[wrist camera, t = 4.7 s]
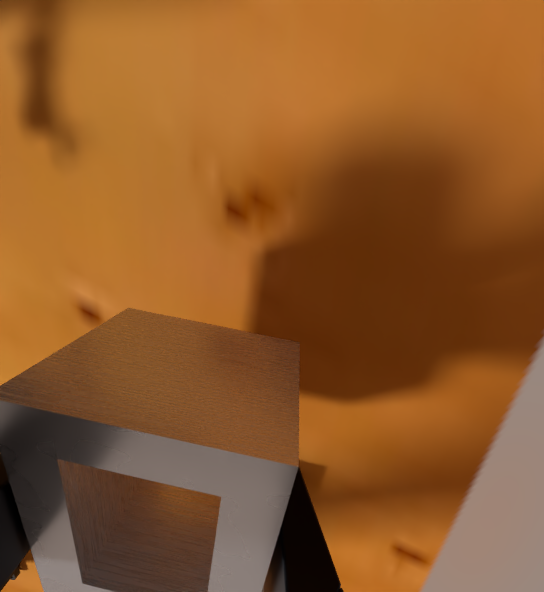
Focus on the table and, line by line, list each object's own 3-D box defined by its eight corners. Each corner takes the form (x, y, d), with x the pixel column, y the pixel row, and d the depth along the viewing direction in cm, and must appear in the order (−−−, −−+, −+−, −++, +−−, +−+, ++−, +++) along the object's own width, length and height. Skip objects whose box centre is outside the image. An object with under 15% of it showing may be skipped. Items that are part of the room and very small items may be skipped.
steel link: (134, 458, 11) (45, 595, 7) (128, 307, 8) (-18, 396, 4) (265, 487, 10) (245, 646, 7) (299, 342, 8) (298, 466, 4)
